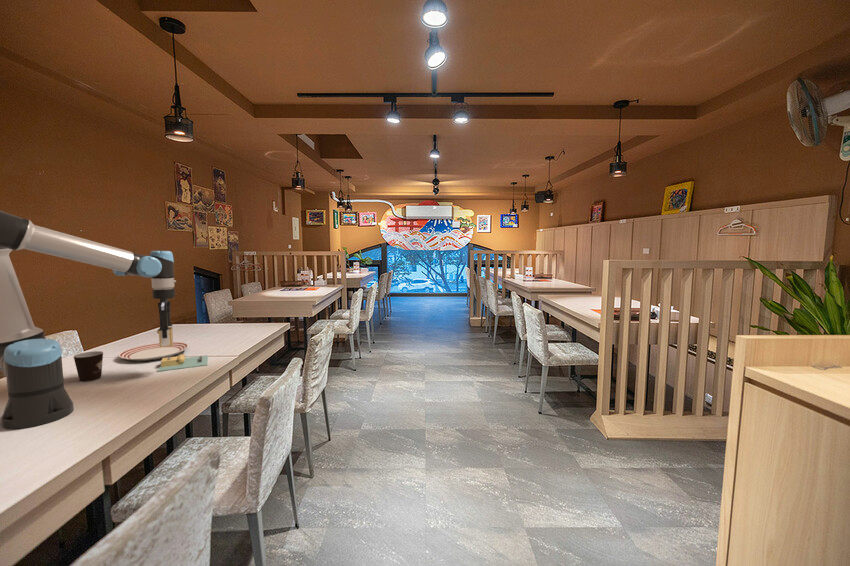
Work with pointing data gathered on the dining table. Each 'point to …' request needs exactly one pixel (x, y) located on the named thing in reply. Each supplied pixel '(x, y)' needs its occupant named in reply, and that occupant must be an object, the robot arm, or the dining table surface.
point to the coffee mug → (89, 365)
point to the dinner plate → (153, 351)
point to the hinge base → (187, 364)
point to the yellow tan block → (169, 337)
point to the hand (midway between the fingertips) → (166, 343)
